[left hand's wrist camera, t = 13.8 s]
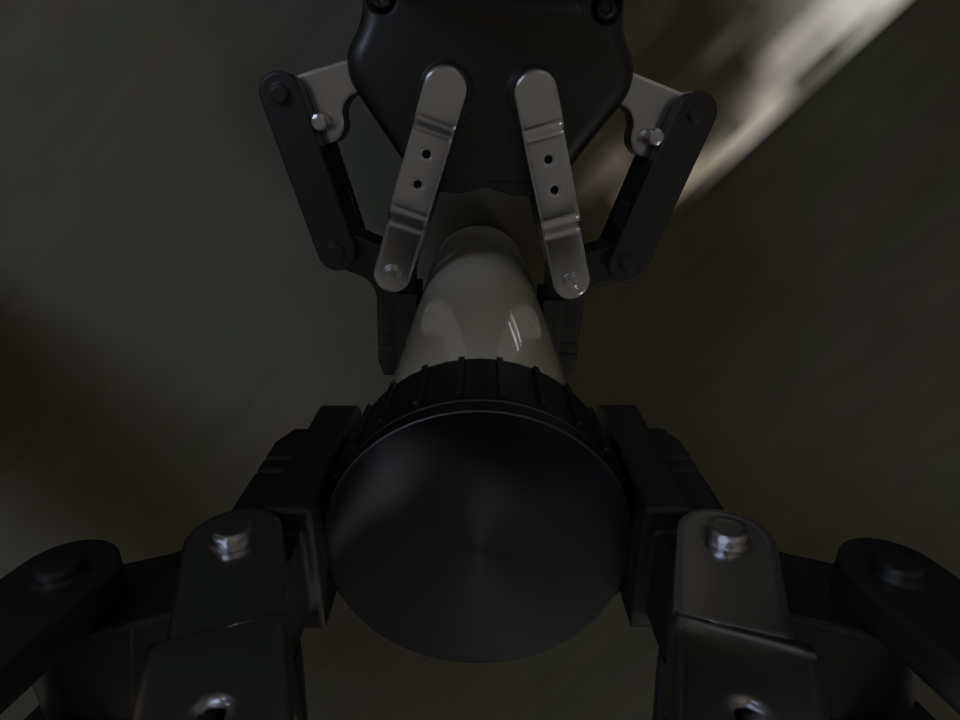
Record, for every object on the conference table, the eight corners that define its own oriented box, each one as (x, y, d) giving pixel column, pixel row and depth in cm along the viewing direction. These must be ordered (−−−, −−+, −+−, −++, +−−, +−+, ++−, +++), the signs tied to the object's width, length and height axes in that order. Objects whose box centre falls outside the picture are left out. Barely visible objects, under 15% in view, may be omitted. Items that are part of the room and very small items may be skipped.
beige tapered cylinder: (522, 221, 25) (607, 402, 9) (528, 312, 27) (610, 619, 10) (426, 230, 26) (324, 426, 9) (438, 321, 27) (370, 636, 10)
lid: (585, 323, 10) (611, 370, 8) (630, 553, 12) (659, 636, 10) (307, 389, 10) (268, 449, 8) (392, 601, 12) (375, 689, 10)
